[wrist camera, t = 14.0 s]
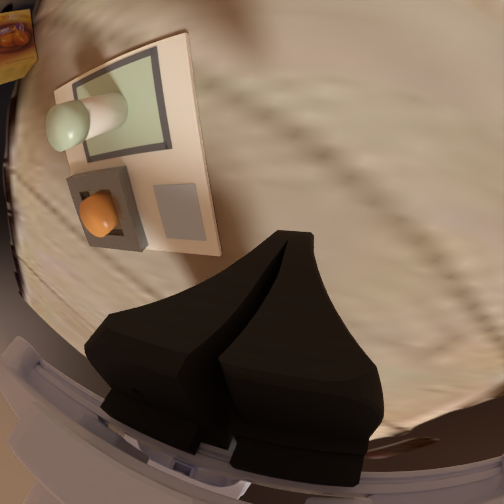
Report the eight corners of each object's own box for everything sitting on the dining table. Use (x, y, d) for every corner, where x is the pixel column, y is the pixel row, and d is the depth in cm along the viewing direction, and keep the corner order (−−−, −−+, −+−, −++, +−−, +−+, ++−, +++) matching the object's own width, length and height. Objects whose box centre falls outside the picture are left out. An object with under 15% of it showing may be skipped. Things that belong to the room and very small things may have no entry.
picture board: (221, 253, 24) (219, 257, 24) (97, 241, 29) (94, 244, 28) (188, 33, 14) (184, 32, 14) (57, 90, 19) (53, 91, 19)
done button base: (148, 245, 26) (141, 252, 25) (96, 240, 28) (89, 245, 27) (126, 165, 21) (117, 170, 20) (74, 174, 24) (66, 178, 23)
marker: (132, 125, 19) (76, 146, 14) (104, 132, 20) (51, 155, 15) (125, 86, 17) (66, 98, 12) (98, 96, 18) (42, 112, 13)
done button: (126, 227, 25) (113, 238, 23) (100, 226, 26) (87, 236, 25) (114, 189, 23) (99, 198, 21) (88, 191, 24) (74, 200, 22)
